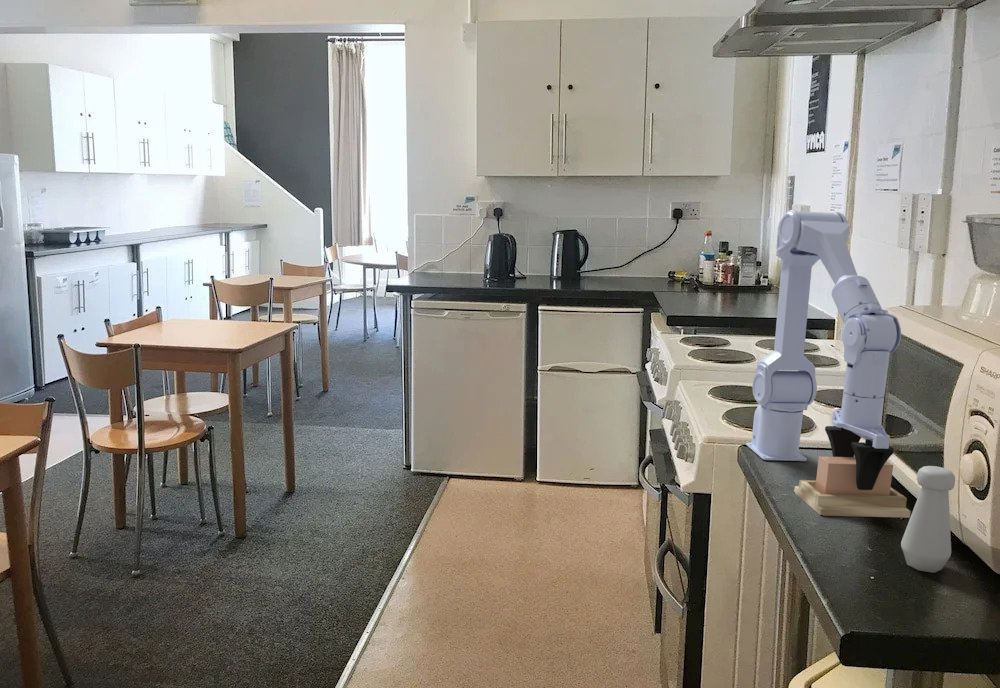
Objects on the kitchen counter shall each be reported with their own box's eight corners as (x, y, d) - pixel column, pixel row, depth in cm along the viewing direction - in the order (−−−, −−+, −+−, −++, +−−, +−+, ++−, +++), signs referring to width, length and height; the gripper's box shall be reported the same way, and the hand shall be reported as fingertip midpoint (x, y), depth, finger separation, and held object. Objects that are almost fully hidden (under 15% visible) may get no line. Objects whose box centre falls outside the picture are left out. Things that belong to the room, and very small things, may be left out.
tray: (794, 492, 139) (795, 477, 139) (877, 494, 140) (879, 479, 139) (820, 515, 129) (822, 499, 129) (909, 517, 130) (911, 501, 130)
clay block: (814, 493, 136) (818, 456, 135) (877, 495, 136) (881, 458, 135) (824, 501, 132) (828, 463, 131) (888, 503, 133) (893, 465, 132)
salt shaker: (897, 568, 112) (910, 470, 109) (900, 552, 117) (912, 458, 114) (948, 579, 109) (962, 479, 107) (949, 563, 114) (963, 467, 112)
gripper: (817, 382, 138) (808, 465, 141) (860, 404, 124) (848, 496, 126) (861, 383, 139) (850, 466, 141) (908, 406, 125) (896, 497, 127)
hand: (852, 480), depth 134 cm, fingers open, 7 cm apart
